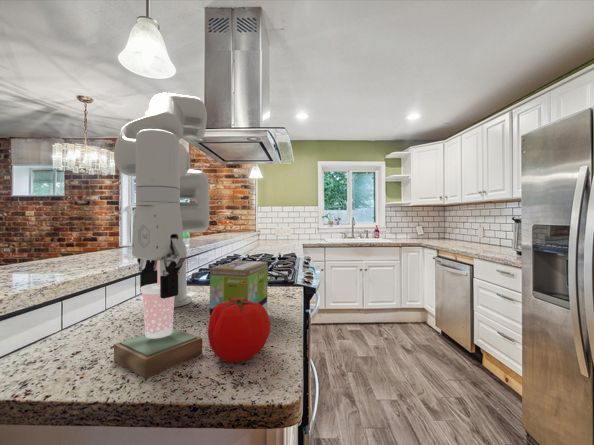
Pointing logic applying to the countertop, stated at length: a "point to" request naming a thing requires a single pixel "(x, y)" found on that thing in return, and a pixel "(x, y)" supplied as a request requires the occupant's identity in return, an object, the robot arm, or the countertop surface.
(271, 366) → the countertop surface
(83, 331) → the countertop surface
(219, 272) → the tea box
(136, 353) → the podium
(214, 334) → the tomato
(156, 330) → the beverage cup
